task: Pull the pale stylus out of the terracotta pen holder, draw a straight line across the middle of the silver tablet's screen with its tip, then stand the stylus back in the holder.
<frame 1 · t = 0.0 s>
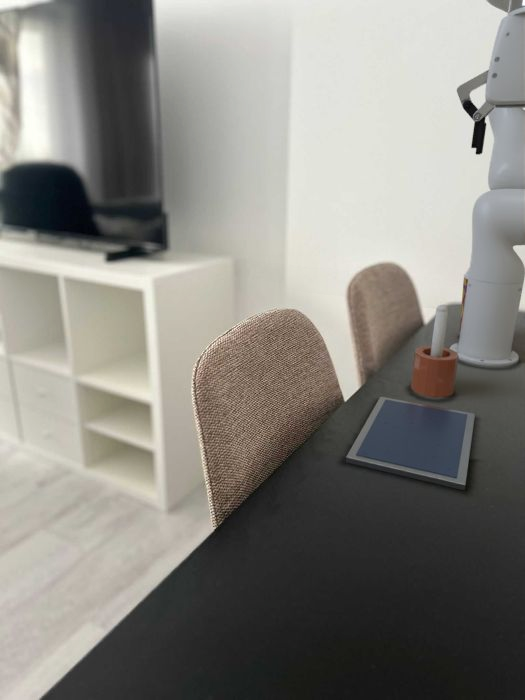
hand: (517, 154, 68), 37 cm above the table, tool pointing down, fingers open, 9 cm apart
stylus: (431, 388, 84), point 1 cm above the table, touching holder
holder: (431, 392, 85), on the table
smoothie: (475, 339, 112), on the table
tablet: (415, 438, 70), on the table
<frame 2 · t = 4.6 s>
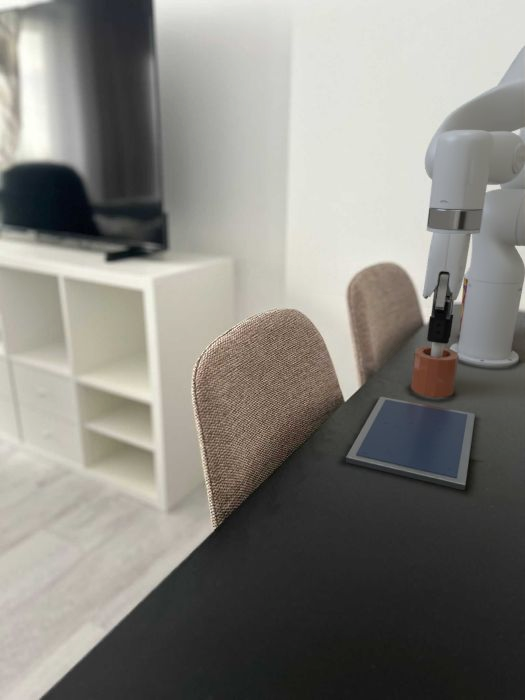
hand: (438, 339, 82), 9 cm above the table, tool pointing down, fingers closed on stylus, 1 cm apart
stylus: (432, 388, 84), point 1 cm above the table, touching gripper
everything else where it was.
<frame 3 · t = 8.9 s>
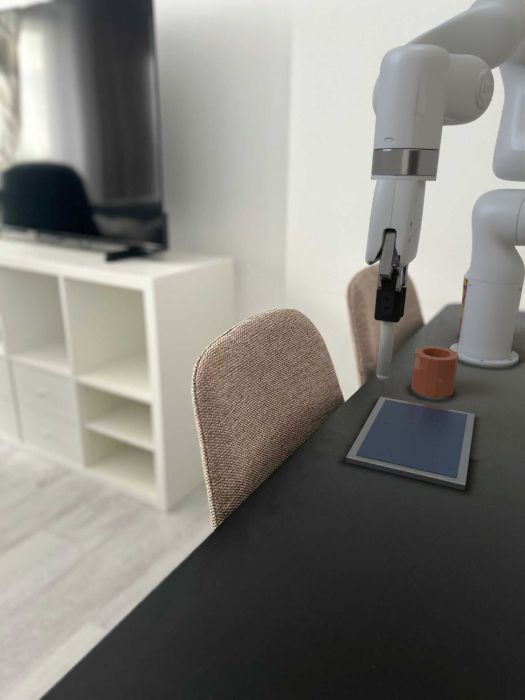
hand: (388, 317, 66), 17 cm above the table, tool pointing down, fingers closed on stylus
stylus: (382, 378, 69), point 8 cm above the table, touching gripper
everything else where it was.
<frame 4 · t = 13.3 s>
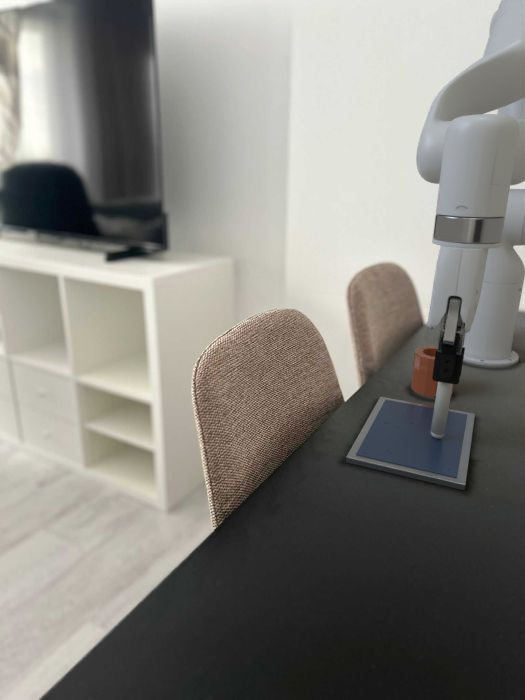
hand: (446, 377, 65), 10 cm above the table, tool pointing down, fingers closed on stylus, 1 cm apart
stylus: (437, 436, 68), point 1 cm above the table, touching gripper, tablet
everything else where it was.
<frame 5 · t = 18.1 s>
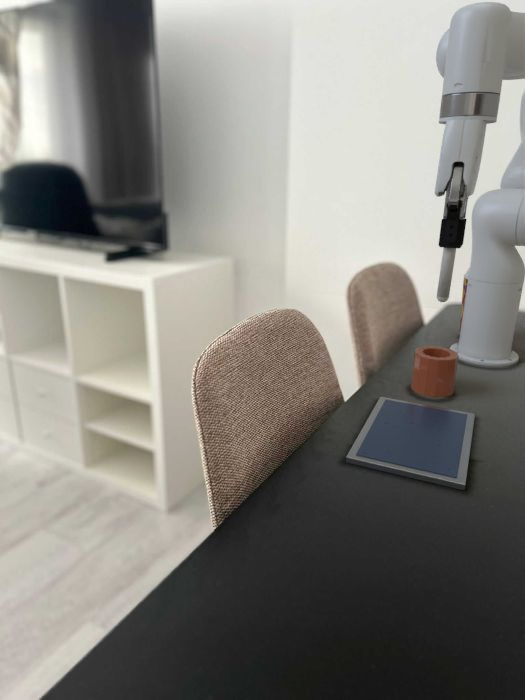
hand: (450, 245, 77), 24 cm above the table, tool pointing down, fingers closed on stylus
stylus: (442, 300, 79), point 16 cm above the table, touching gripper
everything else where it was.
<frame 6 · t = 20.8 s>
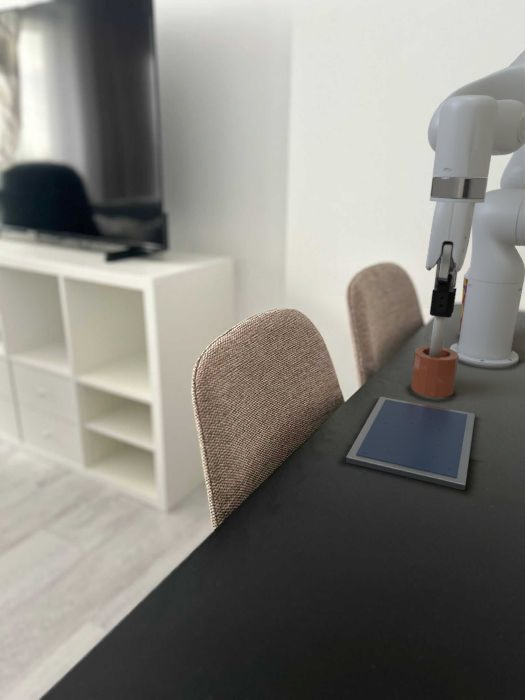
hand: (441, 313, 80), 14 cm above the table, tool pointing down, fingers closed on stylus
stylus: (433, 364, 83), point 5 cm above the table, touching gripper
everything else where it was.
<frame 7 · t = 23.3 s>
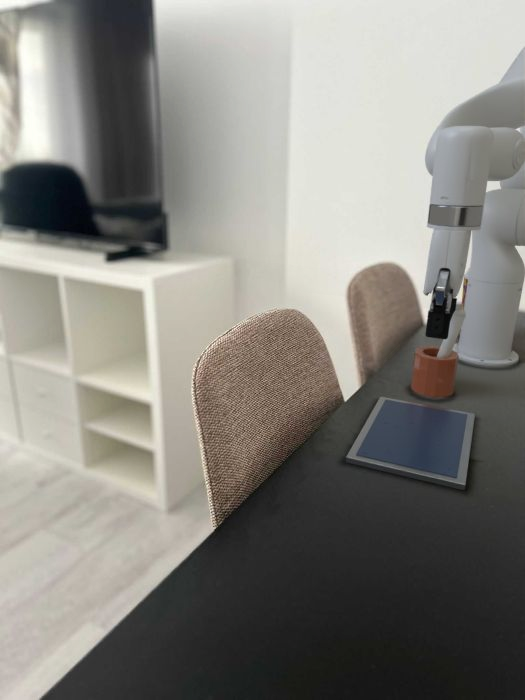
hand: (440, 328, 81), 11 cm above the table, tool pointing down, fingers open, 9 cm apart
stylus: (430, 388, 84), point 1 cm above the table, tilted 12°, touching holder
everything else where it was.
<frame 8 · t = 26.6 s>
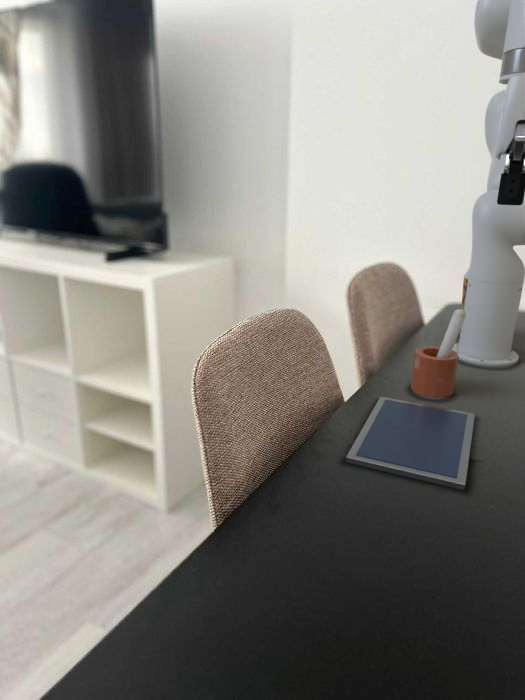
hand: (509, 202, 73), 30 cm above the table, tool pointing down, fingers open, 9 cm apart
nothing on the table moved.
at the end: stylus 0.3 cm off-centre in the holder, point 0.7 cm above the holder's base; stylus tilted 12°; the gripper is holding nothing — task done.
